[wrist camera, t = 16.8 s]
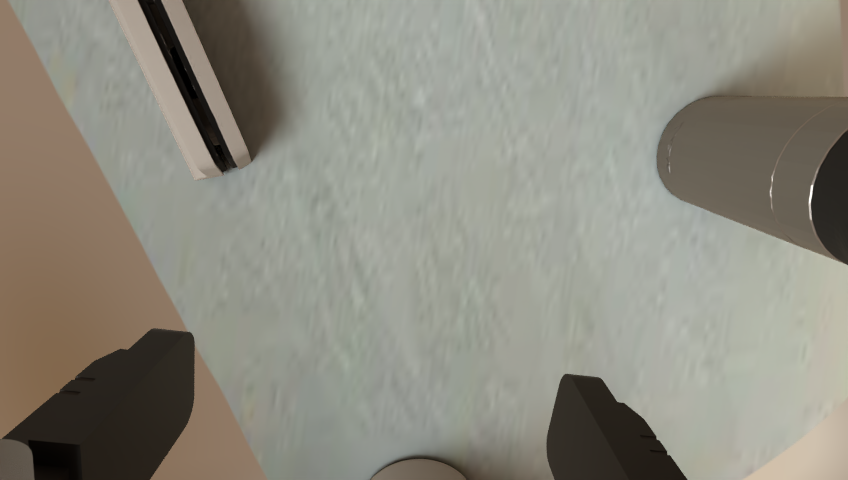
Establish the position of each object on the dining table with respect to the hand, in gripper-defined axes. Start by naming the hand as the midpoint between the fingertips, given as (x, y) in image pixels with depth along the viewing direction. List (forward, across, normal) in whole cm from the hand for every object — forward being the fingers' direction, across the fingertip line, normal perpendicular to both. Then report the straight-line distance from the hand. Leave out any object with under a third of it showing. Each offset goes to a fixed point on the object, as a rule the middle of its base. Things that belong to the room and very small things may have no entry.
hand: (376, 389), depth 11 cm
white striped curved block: (+34, +17, -6) cm, 38 cm away
